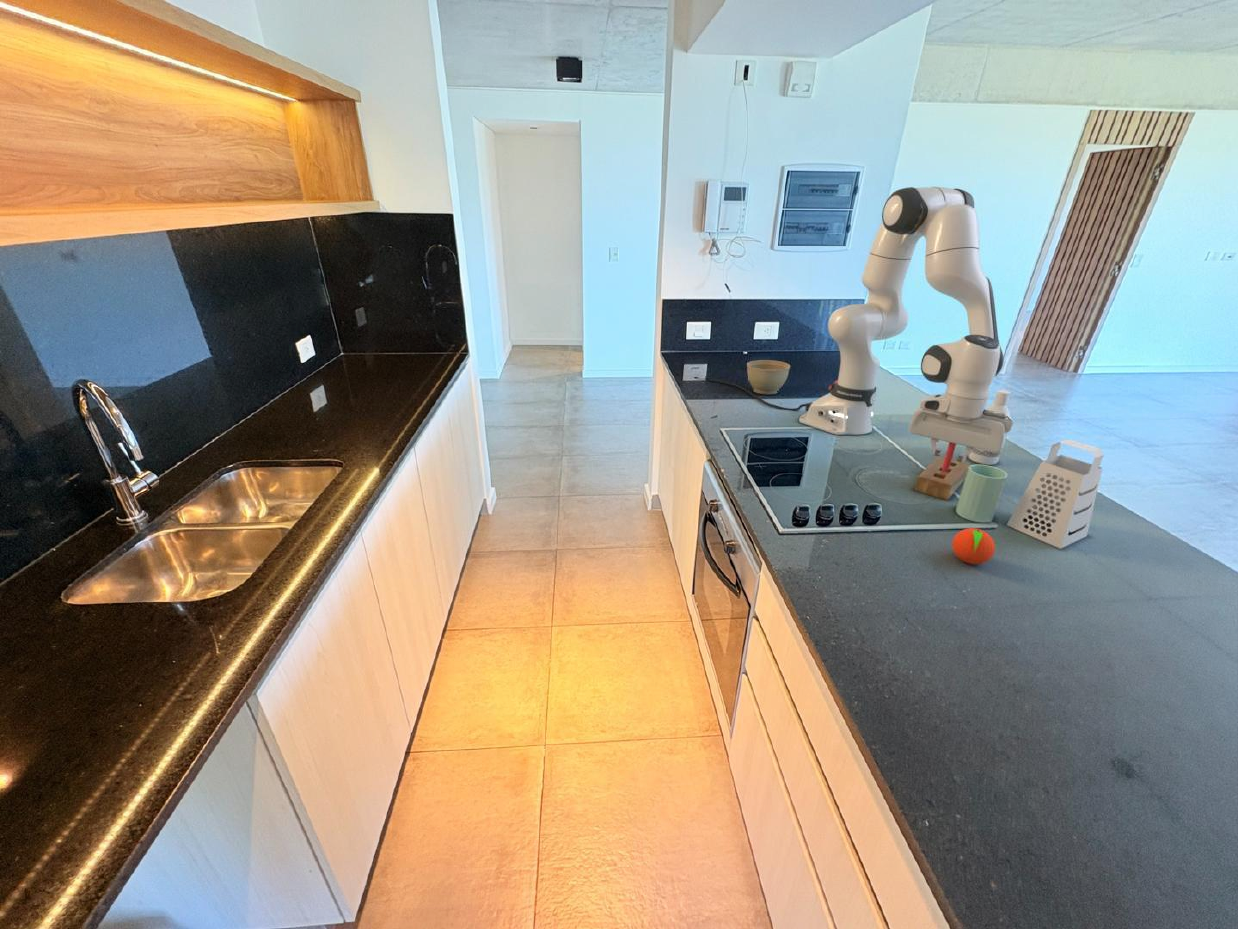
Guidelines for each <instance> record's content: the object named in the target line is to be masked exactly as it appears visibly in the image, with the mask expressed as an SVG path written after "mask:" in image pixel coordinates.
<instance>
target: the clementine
mask: <svg viewBox="0 0 1238 929" xmlns="http://www.w3.org/2000/svg"><path fill="white" fill-rule="evenodd" d="M951 546H952V550H953V552H954V554H955V556H956V557H957V558H958V559H959V560H961V561H962V562H964V563H966V564H970V565H981V564H985V563H986V562H989V560H991V558H993V556H994V554H995V550H996V545H995V541H994V539H993V537H992V536H991V535H990V534H989V533H987V532H986V531H985V530H983V529H981V528H975V527H970V528H965V529H962V530H960V531H959V532H957V533H956V534H955V536H954V537H953V539H952V543H951Z"/></svg>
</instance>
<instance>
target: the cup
mask: <svg viewBox="0 0 1238 929" xmlns="http://www.w3.org/2000/svg"><path fill="white" fill-rule="evenodd" d="M1008 475H1009V474H1008V473H1007V472H1006V471H1005V470H1003V469H1001V468H999V467H995V466H992V465H985V464H980V463H975V464H971V465H970V466H969V467H968V471H967V474H966V477H965V480H964V481H963V483H962V487H961V491H960V494H959V497H958V500H957V504H956V509H955V512H956V514H957V515H958V516H960V517H961V518H962V519H965V520H968V521H971V522H975V523H982V524H983V523H984V524H985V523H990V522H992V521H993V519H994V517H995V513H996V511H997V509H998V506H999V502H1000V499H1001V497H1002V493H1003V490H1004V488H1005V485H1006V481H1007V479H1008Z"/></svg>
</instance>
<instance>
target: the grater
mask: <svg viewBox="0 0 1238 929" xmlns="http://www.w3.org/2000/svg"><path fill="white" fill-rule="evenodd" d="M1062 444H1063V445H1066V446H1070V447H1074V448H1077V449H1080V450H1083V451H1087V452H1090V453H1091V454H1092V456H1093V458H1094V459H1093V461H1092V464H1091V463H1089V462H1085V461H1082V460H1080V459H1079V460H1078V459H1076V458H1073V457H1069V456H1066V455H1063V454H1059V455H1058V453H1059V451H1060V448H1061V446H1062ZM1104 456H1105V453H1104V452H1103V450H1102V449H1101V448H1100V447H1098V446H1094V445H1090V444H1088V443H1083V442H1079V441H1076V440H1073V439H1070V438H1068V439H1065V440H1061V441H1058V442H1057V443H1054V444H1052V445H1051V448H1050V450H1049V453H1048V455H1047V459H1045V460H1042V461H1041V462H1040V464H1039V466H1038V468H1037V470H1036V472H1035V473H1034V475H1033V477H1032V478H1031V481H1030V482H1029V484H1028V486H1027V487H1026V489H1025V491H1024V493H1023V495H1022V497H1021V498H1020V500H1019V502H1018V503H1017V505H1016V507H1015V509H1014V511H1013V512H1012V514H1011V516H1010V518H1009V520H1008V521H1007V523H1006V526H1008V527H1010V528H1012V529H1014V530H1016V531H1019V532H1022V533H1023V534H1025V535H1027V536H1030V537H1032V538H1035V539H1037V540H1039V541H1042V542H1044V543H1047V544H1048V545H1050V546H1053V547H1055V548H1058V549H1064V548H1066V547H1067V546H1070V545H1071V544H1073V543H1076V542H1078V541H1080V540H1082V539H1083V538H1086V537H1087V536H1088V533H1089V528H1090V524H1091V520H1092V516H1093V511H1094V506H1095V502H1096V498H1097V494H1098V489H1099V485H1100V480H1101V475H1102V471H1103V467H1102V466H1100V465H1101V463H1102V461H1103V458H1104ZM1038 490H1039V491H1038ZM1029 516H1031V517H1032V518H1029ZM1024 519H1026V520H1027V521H1024ZM1035 519H1038V521H1035ZM1042 521H1043V522H1044V523H1041V522H1042ZM1030 522H1032V524H1030ZM1036 524H1037V525H1038V527H1037V526H1036ZM1047 524H1050V526H1047ZM1025 526H1028V528H1026V527H1025ZM1042 527H1044V528H1045V529H1042ZM1031 528H1033V529H1034V530H1031ZM1048 529H1049V530H1051V532H1049V531H1048ZM1037 531H1039V532H1040V533H1037ZM1073 532H1074V533H1073ZM1043 533H1044V534H1046V536H1044V535H1043ZM1069 533H1072V534H1070V535H1069Z"/></svg>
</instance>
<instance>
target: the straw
mask: <svg viewBox="0 0 1238 929" xmlns="http://www.w3.org/2000/svg"><path fill="white" fill-rule="evenodd" d="M956 447H957V444H955V443H951V442H948V446H947V449H946V452H945V456H944V457H945V460H944V463H943V467H942V470H941V471H945V472H948V471H949V467H950V464H951V460H952V459H953V457H954V453H955V449H956Z"/></svg>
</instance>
